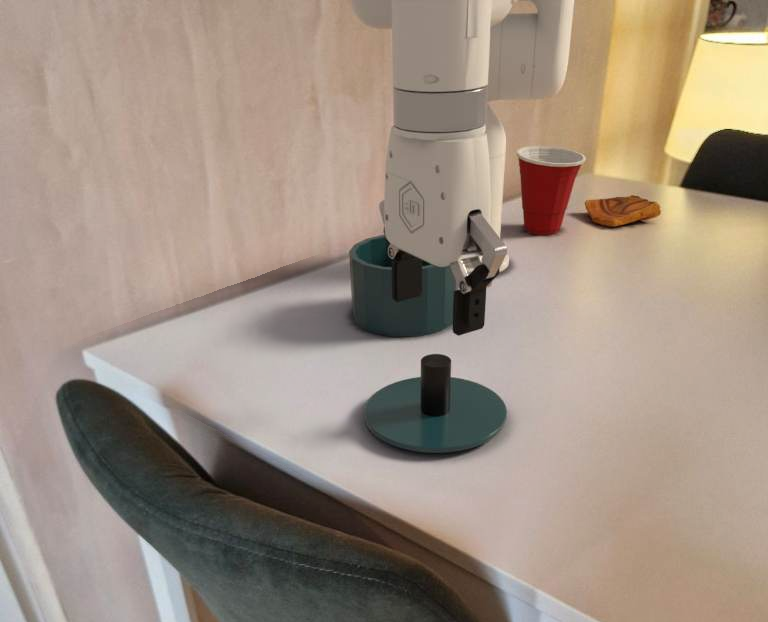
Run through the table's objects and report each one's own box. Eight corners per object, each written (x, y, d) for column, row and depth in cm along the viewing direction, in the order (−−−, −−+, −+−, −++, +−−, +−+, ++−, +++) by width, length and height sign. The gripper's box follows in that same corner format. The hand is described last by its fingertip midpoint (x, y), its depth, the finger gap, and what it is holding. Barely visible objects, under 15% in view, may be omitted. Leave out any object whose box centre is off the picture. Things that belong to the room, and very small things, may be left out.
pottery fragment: (665, 203, 126) (613, 199, 122) (656, 232, 128) (605, 229, 125) (631, 189, 133) (582, 185, 130) (623, 217, 136) (575, 214, 133)
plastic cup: (577, 241, 121) (588, 160, 114) (509, 239, 123) (515, 159, 116) (576, 220, 130) (585, 144, 122) (511, 218, 131) (517, 143, 124)
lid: (339, 411, 81) (334, 353, 77) (449, 373, 87) (450, 318, 83) (417, 475, 71) (417, 413, 67) (535, 427, 77) (542, 368, 73)
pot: (334, 310, 102) (330, 247, 97) (417, 287, 108) (417, 226, 103) (390, 346, 93) (388, 278, 88) (477, 319, 99) (481, 253, 93)
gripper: (345, 103, 66) (354, 295, 76) (469, 134, 54) (460, 356, 64) (416, 93, 69) (416, 279, 79) (548, 121, 57) (528, 334, 67)
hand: (436, 313), depth 72 cm, fingers open, 9 cm apart
